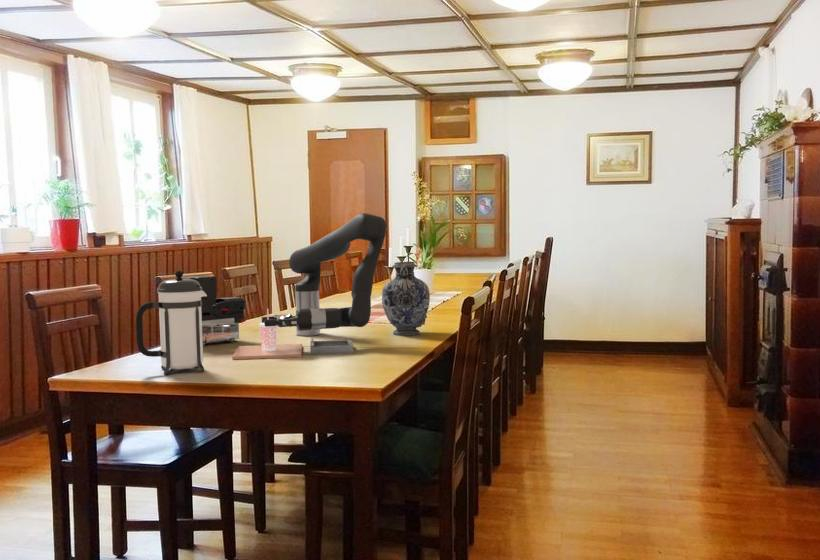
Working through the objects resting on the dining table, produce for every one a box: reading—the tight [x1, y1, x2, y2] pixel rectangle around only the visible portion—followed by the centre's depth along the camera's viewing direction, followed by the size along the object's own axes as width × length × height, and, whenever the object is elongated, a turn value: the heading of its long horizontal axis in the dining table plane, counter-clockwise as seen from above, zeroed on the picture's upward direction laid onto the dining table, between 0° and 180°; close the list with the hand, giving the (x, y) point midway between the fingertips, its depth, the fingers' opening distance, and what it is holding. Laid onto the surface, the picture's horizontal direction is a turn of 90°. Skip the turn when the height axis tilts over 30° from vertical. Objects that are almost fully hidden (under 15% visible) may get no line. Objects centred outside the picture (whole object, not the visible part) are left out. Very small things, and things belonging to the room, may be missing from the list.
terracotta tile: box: [231, 343, 303, 360], centre depth 262 cm, size 22×22×1 cm
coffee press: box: [135, 270, 207, 376], centre depth 231 cm, size 17×16×30 cm
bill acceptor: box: [181, 275, 246, 347], centre depth 286 cm, size 10×23×25 cm, turn 129°
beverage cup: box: [258, 308, 278, 351], centre depth 262 cm, size 6×6×14 cm
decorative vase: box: [381, 261, 431, 337], centre depth 302 cm, size 21×19×28 cm
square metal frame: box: [309, 337, 354, 356], centre depth 265 cm, size 14×14×4 cm
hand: (263, 321), depth 261 cm, fingers open, 8 cm apart
